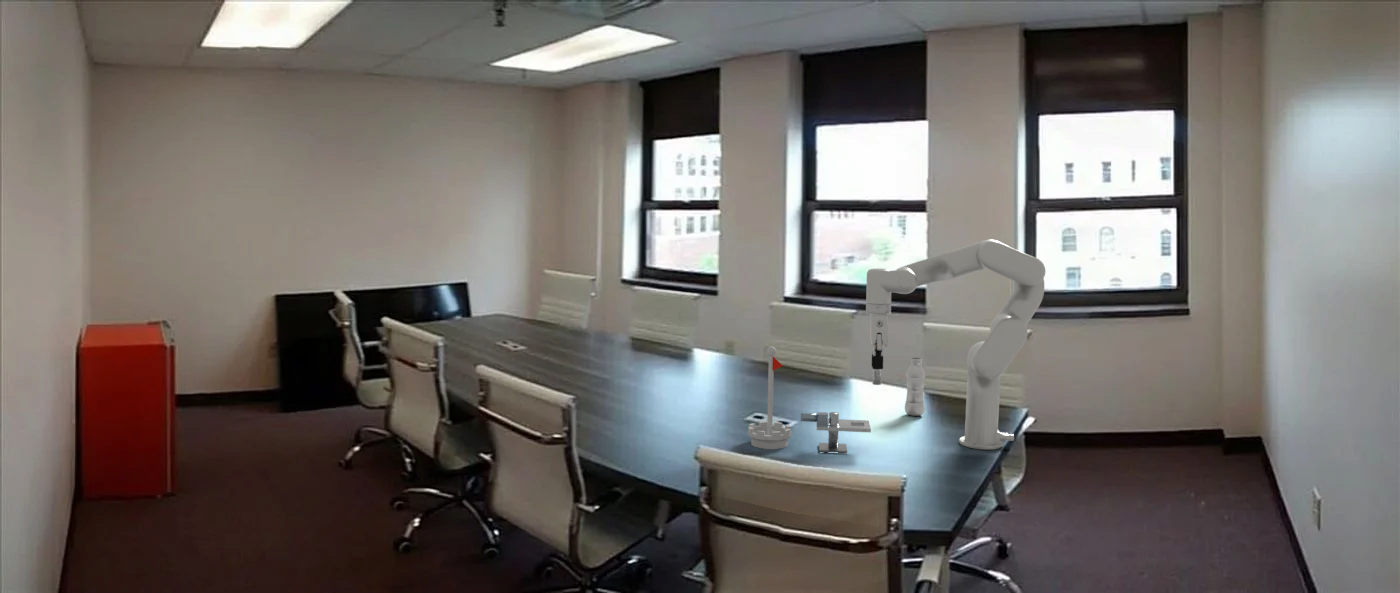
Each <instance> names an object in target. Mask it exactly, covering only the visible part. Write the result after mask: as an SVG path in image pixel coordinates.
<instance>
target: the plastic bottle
mask: <svg viewBox="0 0 1400 593" xmlns="http://www.w3.org/2000/svg"><path fill="white" fill-rule="evenodd" d="M909 364H910V365H909V367H908V368H907V369H906V371H905V380H906V388H907V389H906V399H905V404H904V412H905V414H907V415H909V416H913V417H919V416H922V415H924V414H925V409H926V408H925V402H924V401H925V400H924V388H925V379H926V371H925V369H924V367H923V366H922V364H923V358H922V357H910V362H909Z"/></svg>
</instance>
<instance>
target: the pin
mask: <svg viewBox="0 0 1400 593" xmlns="http://www.w3.org/2000/svg"><path fill="white" fill-rule="evenodd" d="M875 346H877V345H876V344H875ZM876 349H877V348H876ZM872 350H873V356H874V347H873V346H872ZM872 385H874V386H879V385H880V386H881V385H882V369H873V368H872Z"/></svg>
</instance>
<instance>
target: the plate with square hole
mask: <svg viewBox="0 0 1400 593" xmlns="http://www.w3.org/2000/svg"><path fill="white" fill-rule="evenodd" d="M839 417H840V413H839V412H836V411H831V412H829V413H828V412H823V411H822V412H821V411H820V412H819V411H818V412H817V413H808V412H807V413H804V412H803V413H800V422H807V423H809V422H811V423H816V431H828V441H827V442H819V443H818V444H819V446H818V447H819V448H818V449H819V452H838V453H847V454H848V448H847V443H839V432H850V433H851V432H855V433H871V431H872V429H871V425H870V422H869V421H870V420H867V419H866V420H862V419H861V420H860V419H840V418H839Z"/></svg>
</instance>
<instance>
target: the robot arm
mask: <svg viewBox="0 0 1400 593" xmlns="http://www.w3.org/2000/svg"><path fill="white" fill-rule="evenodd" d="M985 270H989V271H992V272H994V273H996V274H998V275H1000V276H1003V277H1005V278H1007V279H1009V280H1011V281H1014V287H1013V291H1012V292H1011V295H1010V296H1009V297H1008V299H1007V300H1006V301H1005V303H1004V305H1003V306H1002V308H1001V309H1000V310H999V312H998V313H997V314H996V316H995V317H994V318H993V319H992V321H991V323H990V325H989V331H990V333H989V335H987V337H986V339H985V340H984V341H983V340H981V341H978V342H976V343H974V344H973V345H972V346H970V348H969V350H968V353H967V357H966V358H967V359H966V360H967V363H966V364H967V365H966V367H967V369H966V370H967V371H966V372H967V378H966V379H967V380H966V382H967V383H966V398H965V399H966V403H965V423H964V436H961V437H960V438H959V440H958V442H959V444H960V445H961V446H964V447H967V448H970V449H976V450H997V449H1000V448H1002V447H1003V441H1008V442H1009V441H1010V442H1014V441H1015V435H1014V433H1013V434H1009V433H1008V432H1001V431H1000V430H999V415H1000V412H999V411H1000V396H1001V394H1000V392H1001V375H1002V374H1003V373H1004V372H1005V371H1006V369H1007V368H1008V366H1010V364H1011V363H1012V361H1013V360H1014V358H1016V357H1017V355H1018V353H1019V351H1020V350H1021V348H1022V347H1023V346H1024V345H1025V343H1026V341H1027V338H1028V326H1027V325H1028V323H1029V322H1030V321H1031V319H1033V317H1034V315H1035V313H1036V312H1037V310H1038V309H1039V307H1040V305H1041V303H1042V301H1043V299H1044V294H1045V279H1044V278H1045V276H1046V266H1045V264H1044V263H1043V262H1042V260H1040V259H1039V258H1037V257H1035V256H1033V255H1031V254H1027V253H1026V252H1023V251H1020V250H1019V249H1015V248H1013V247H1011V246H1009V245H1008V244H1005V243H1003V242H1002V241H999V240H996V239H985V240H981V241H977V242H974V243H971V244H968V245H965V246H963V247H959V248H957V249H953V250H950V251H946V252H943V253H940V254H938V255H935V256H932V257H928V258H926V259H922V260H920V261H915V262H912V263H910V264H907V265H903V266H900V267H899V268H896V269H894V270H890V269H887V268H871V269H868V270H867V272H866V292H865V294H866V297H865V298H866V299H865V302H866V303H865V314H866V315H869V340H870V341H869V342H870V344H871V347H872V348H873V347H874V356H873V349H872V351H871V352H872V353H871V368H872V370H873V369H881V370H883V369H884V346H885V347H886V348H887V347H888V346H889V322H888V321H889V318H888V316H889V315H891V314H892V293H896V294H901V295H907V294H911V293H913V292H914V291H915V290H916V288H919V287H922V286H924V285H927V284H930V283H935V282H940V281H952V280H959V279H961V278H963V277H966V276H970V275H973V274H976V273H978V272H982V271H985ZM875 344H876V345H877V346H875ZM876 348H877V349H876Z"/></svg>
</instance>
